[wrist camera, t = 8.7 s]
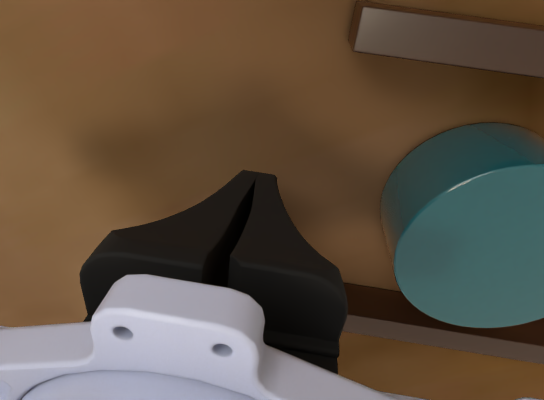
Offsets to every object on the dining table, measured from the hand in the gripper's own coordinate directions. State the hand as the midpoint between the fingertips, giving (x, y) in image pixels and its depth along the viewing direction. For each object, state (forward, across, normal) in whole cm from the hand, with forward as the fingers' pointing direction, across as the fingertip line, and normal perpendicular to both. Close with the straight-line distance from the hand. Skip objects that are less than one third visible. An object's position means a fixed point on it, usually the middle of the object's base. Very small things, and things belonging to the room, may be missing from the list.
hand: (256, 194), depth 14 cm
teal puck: (+2, -9, 0) cm, 9 cm away
